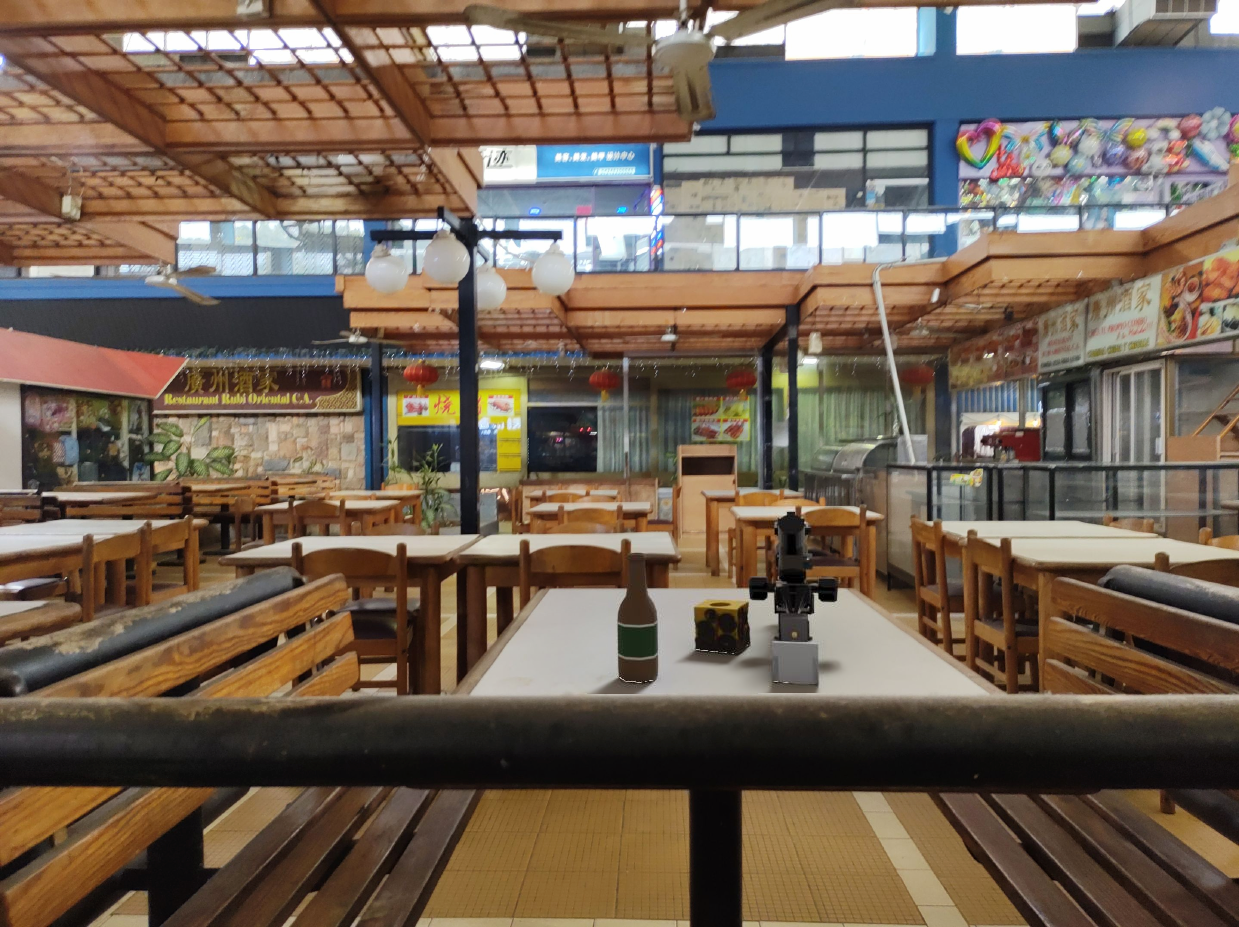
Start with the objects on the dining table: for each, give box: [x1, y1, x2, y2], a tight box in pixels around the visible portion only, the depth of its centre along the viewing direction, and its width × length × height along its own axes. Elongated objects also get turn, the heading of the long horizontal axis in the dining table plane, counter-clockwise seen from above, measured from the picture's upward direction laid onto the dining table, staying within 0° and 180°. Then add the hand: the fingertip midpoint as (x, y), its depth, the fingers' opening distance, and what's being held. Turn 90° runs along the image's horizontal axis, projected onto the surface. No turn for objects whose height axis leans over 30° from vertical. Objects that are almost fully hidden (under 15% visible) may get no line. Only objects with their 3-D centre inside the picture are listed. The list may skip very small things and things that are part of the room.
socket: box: [772, 640, 820, 685], centre depth 137 cm, size 9×8×8 cm
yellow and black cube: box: [693, 598, 751, 655], centre depth 160 cm, size 10×10×10 cm
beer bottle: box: [616, 552, 659, 682], centre depth 138 cm, size 8×8×24 cm
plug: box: [781, 613, 809, 642], centre depth 144 cm, size 6×5×10 cm
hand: (793, 622), depth 151 cm, fingers closed
